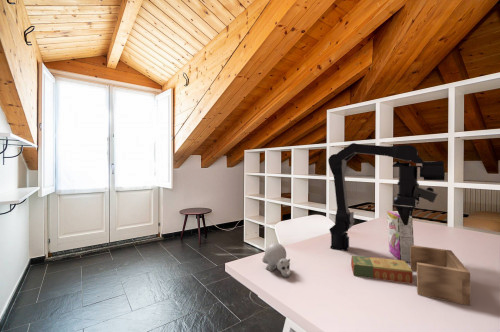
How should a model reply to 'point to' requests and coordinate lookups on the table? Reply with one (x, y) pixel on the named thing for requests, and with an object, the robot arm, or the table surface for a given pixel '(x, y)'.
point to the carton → (381, 269)
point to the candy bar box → (399, 236)
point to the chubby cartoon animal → (277, 258)
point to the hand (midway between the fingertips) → (407, 222)
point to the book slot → (440, 274)
